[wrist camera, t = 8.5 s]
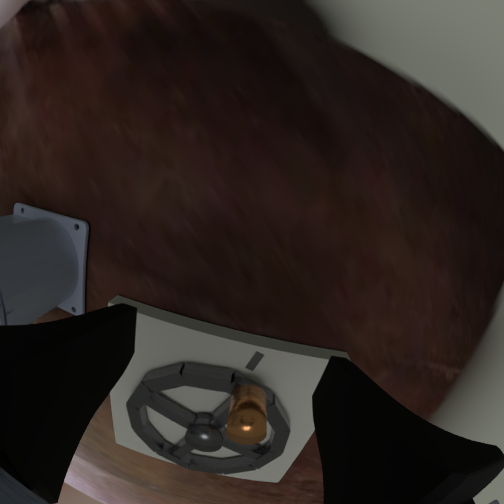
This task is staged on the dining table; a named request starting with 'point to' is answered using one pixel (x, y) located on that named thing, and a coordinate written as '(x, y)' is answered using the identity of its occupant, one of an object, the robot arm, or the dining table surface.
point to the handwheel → (212, 419)
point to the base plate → (208, 401)
